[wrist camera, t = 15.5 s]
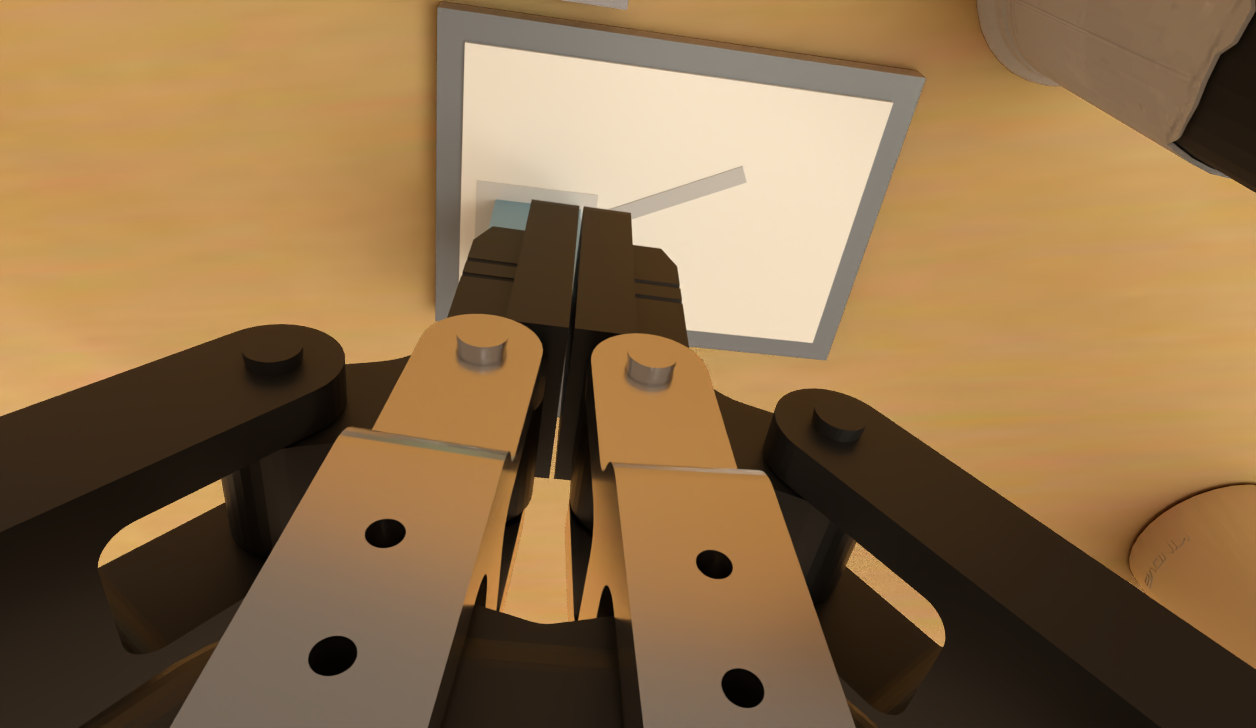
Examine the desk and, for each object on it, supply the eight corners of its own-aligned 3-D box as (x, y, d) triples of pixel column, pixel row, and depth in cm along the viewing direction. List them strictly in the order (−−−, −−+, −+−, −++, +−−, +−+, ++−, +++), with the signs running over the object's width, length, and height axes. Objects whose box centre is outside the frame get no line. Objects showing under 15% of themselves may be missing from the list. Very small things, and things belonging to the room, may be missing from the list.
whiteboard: (917, 71, 30) (928, 79, 29) (821, 348, 38) (827, 363, 37) (441, 1, 28) (436, 8, 27) (439, 309, 36) (434, 323, 35)
